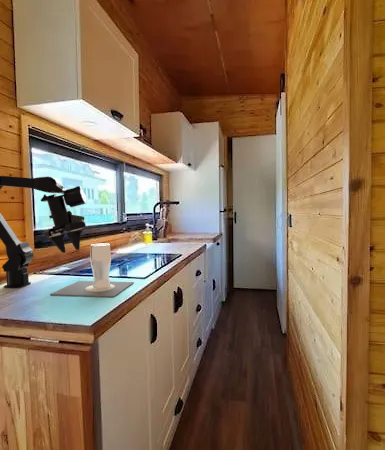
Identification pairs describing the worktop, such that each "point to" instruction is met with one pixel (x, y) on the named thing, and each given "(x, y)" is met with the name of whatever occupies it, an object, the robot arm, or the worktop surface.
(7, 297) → the worktop surface
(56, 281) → the worktop surface
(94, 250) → the beer glass
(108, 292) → the slate mat
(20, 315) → the worktop surface
